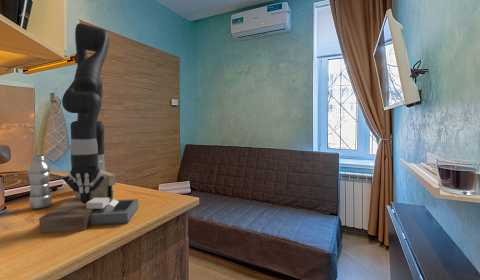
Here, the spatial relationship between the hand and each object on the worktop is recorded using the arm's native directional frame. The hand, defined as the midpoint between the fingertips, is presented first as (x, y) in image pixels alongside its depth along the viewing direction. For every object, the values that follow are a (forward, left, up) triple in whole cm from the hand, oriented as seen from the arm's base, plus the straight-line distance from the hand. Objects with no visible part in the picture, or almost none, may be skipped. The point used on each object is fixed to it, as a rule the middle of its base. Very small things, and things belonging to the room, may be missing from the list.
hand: (86, 202), depth 78 cm
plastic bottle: (-14, -22, -6) cm, 27 cm away
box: (-1, +9, -6) cm, 11 cm away
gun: (-18, -5, -6) cm, 20 cm away
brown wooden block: (0, -3, -6) cm, 6 cm away
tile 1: (0, +4, -1) cm, 4 cm away
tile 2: (0, +7, -2) cm, 7 cm away
